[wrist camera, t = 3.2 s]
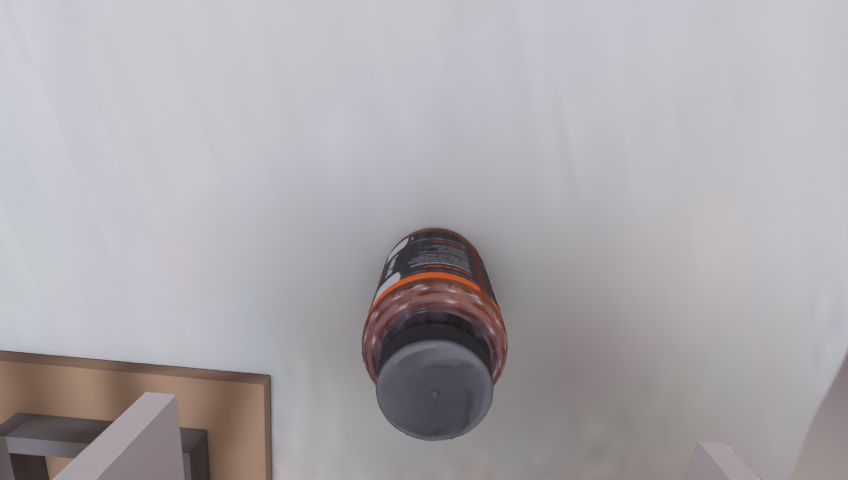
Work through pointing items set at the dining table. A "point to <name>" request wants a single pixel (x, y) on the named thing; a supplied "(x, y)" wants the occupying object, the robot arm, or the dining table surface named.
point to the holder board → (111, 396)
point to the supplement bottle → (434, 337)
